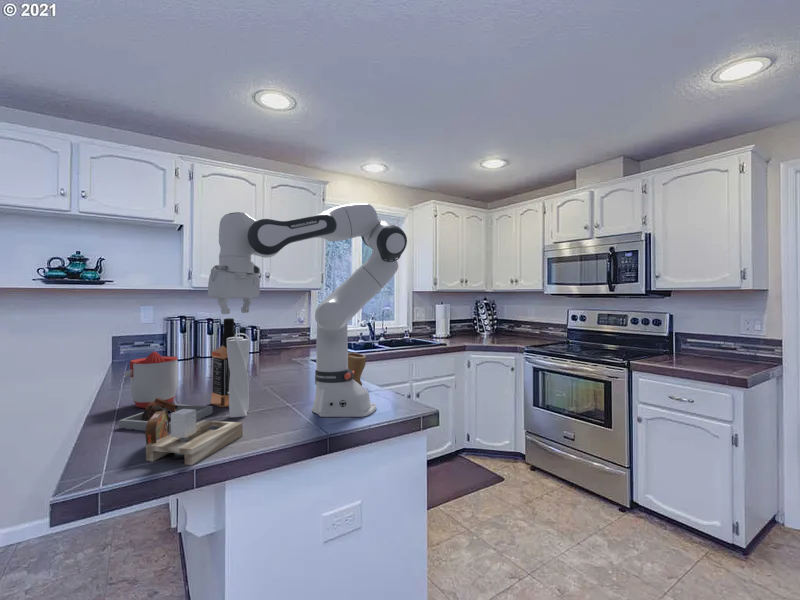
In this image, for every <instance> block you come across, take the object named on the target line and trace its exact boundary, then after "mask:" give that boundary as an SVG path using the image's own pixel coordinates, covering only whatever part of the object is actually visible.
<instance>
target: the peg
mask: <svg viewBox="0 0 800 600" xmlns="http://www.w3.org/2000/svg"><path fill="white" fill-rule="evenodd" d="M170 422H171V432H170V435H171V437H175V438H179V440H180V441H183V442H187V441H188V437H189V436H191V435H193V434H195V433H196V423H197V420H196V410H193V409H181V410H178V411H176V412H170ZM173 454H174V455H173V457H174V458H176V459H183V458H184V459H185V454H183V453H173Z"/></svg>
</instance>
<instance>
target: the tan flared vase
mask: <svg viewBox="0 0 800 600" xmlns="http://www.w3.org/2000/svg"><path fill="white" fill-rule="evenodd" d="M366 361H367V356H366V355H364V354H361V353H359V352H348V368H349V369H350V370H351V371H354V374H353V380H355V381H356V382H357V383H358V384H360V385H361V386H362V387H363V383H362V381H361V378H362V374H363V372H364V369H365V367H366Z"/></svg>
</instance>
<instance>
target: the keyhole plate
mask: <svg viewBox="0 0 800 600" xmlns="http://www.w3.org/2000/svg"><path fill="white" fill-rule="evenodd" d="M210 427H218V428H216V429H210ZM243 430H244V429H243V422H239V421H238V422H236V421H222V420H207V419H203V420H200V421H198V422H196V433H195V434H193V435H191V436H189V437H188V441H187V442H183V441H180V440H179V438H175V437H171V434H169V435H168V436H166V437H164V438H161V439H159V440H157V441H156V442H157V443H150V444H148V445H146V444H145V461H146V462H155V461H157V460H159V459H161V458H163V457H165V456H166V455H169V454H171V453H173V454H174V453H183V454H185V458H184V466H186V465H187V466H193V465H195V464H196V463H198V462H200V461H201V460H203V459H206V458H207V457H208V456H210V455H212V454H214V453H216V452H217V451H219V450H221V449H222V448H224V447H226V446H227V445H230V444H231V443H233V442H234V441H236V440H238V439H240V438H241V437H243V436H244V435H243V432H244V431H243Z"/></svg>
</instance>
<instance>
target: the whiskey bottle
mask: <svg viewBox="0 0 800 600" xmlns="http://www.w3.org/2000/svg"><path fill="white" fill-rule="evenodd" d="M235 334H236V333H235V318H231V317H230V318H229V317H228V318H227V317H226V318H224V319H223V333H222V337H221V338H222V345H221V346H219V347H218V348H216V349H215V350H212V351H211V357H212V392H211V396H210V399H211V400H210V403H211V404H212V405H214V406H215V407H216V406H217V407H219V408H226V407H229V380H230V369H229V363H228V355H227V338H229V337H235ZM233 339H234V338H232V339H228V340H233Z"/></svg>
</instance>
